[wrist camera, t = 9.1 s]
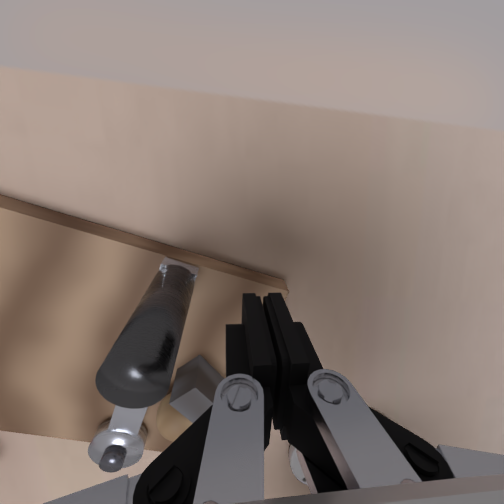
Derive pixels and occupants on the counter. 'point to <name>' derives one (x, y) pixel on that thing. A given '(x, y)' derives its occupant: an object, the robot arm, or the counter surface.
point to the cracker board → (101, 323)
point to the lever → (142, 365)
